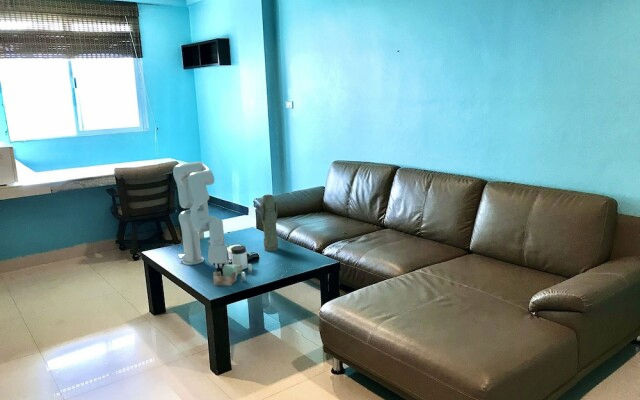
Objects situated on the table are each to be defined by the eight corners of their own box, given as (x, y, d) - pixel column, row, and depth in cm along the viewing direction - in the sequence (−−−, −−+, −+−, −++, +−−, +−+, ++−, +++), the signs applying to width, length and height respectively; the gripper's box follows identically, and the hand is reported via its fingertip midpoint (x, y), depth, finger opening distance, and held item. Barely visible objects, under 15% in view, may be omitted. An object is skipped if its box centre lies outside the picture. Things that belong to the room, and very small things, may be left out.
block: (223, 278, 266) (222, 268, 265) (227, 274, 272) (226, 264, 271) (234, 278, 265) (233, 268, 264) (237, 274, 271) (236, 264, 270)
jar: (241, 264, 288) (239, 244, 286) (250, 266, 283) (249, 246, 280) (229, 268, 282) (227, 248, 279) (238, 271, 276) (237, 251, 274)
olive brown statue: (283, 248, 314) (279, 194, 306) (269, 253, 305) (265, 197, 298) (273, 245, 320) (269, 192, 312) (259, 250, 311) (255, 196, 303)
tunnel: (209, 285, 258) (209, 277, 257) (221, 272, 276) (221, 264, 275) (231, 285, 256) (231, 277, 255) (242, 272, 274) (241, 265, 273)
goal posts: (241, 281, 261) (240, 272, 260) (249, 272, 274) (248, 263, 273) (245, 281, 261) (244, 273, 260) (252, 272, 274) (252, 263, 273)
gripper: (201, 244, 263) (204, 276, 267) (228, 244, 261) (231, 277, 265) (206, 239, 270) (209, 271, 274) (232, 240, 268) (235, 272, 272)
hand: (220, 274), depth 270 cm, fingers closed
